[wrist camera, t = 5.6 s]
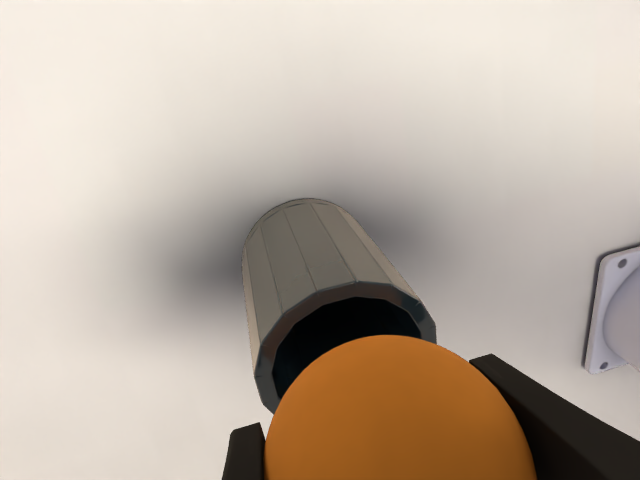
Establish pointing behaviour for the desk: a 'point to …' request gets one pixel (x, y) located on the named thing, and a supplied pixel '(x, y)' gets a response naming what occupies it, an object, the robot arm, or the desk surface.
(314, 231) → the cup
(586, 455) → the robot arm
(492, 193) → the desk surface
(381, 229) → the desk surface
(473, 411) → the ball
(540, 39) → the desk surface
